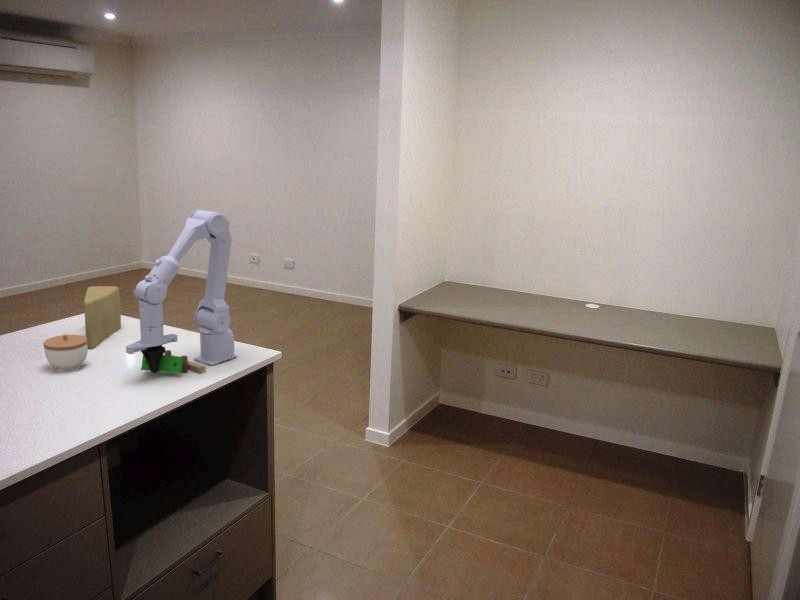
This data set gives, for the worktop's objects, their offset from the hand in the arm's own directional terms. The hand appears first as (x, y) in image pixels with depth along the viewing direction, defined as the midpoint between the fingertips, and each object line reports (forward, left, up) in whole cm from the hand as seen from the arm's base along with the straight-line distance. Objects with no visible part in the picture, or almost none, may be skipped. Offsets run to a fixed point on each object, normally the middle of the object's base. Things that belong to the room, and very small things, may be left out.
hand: (154, 372), depth 165 cm
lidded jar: (+10, -24, -1) cm, 26 cm away
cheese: (-9, -40, -2) cm, 41 cm away
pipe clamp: (-3, 0, -1) cm, 3 cm away
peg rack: (-8, 0, -1) cm, 8 cm away
